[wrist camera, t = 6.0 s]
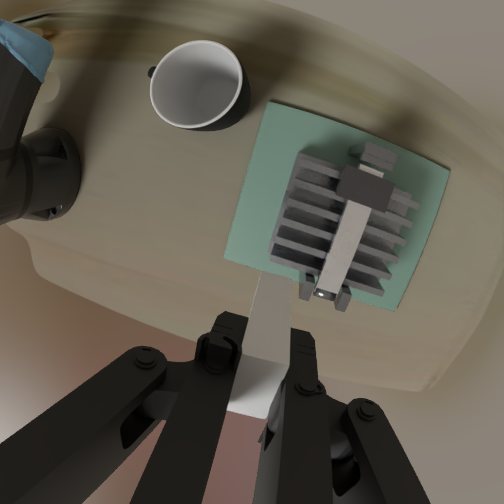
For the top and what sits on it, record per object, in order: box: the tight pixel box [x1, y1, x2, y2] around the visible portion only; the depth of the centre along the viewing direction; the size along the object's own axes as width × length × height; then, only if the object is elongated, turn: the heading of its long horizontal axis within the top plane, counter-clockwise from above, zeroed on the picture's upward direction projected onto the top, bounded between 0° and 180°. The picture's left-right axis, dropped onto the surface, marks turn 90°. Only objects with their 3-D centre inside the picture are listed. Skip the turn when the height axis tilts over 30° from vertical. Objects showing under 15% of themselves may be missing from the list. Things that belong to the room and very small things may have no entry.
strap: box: [313, 164, 395, 301], centre depth 27 cm, size 5×14×1 cm, turn 164°
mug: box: [148, 40, 250, 131], centre depth 28 cm, size 12×9×10 cm
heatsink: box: [267, 141, 420, 312], centre depth 29 cm, size 14×16×9 cm
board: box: [223, 101, 450, 312], centre depth 34 cm, size 24×20×1 cm
